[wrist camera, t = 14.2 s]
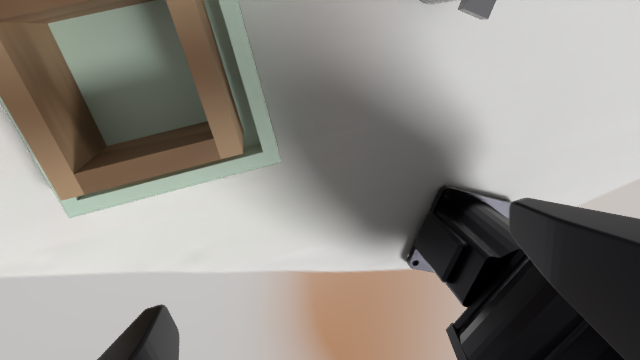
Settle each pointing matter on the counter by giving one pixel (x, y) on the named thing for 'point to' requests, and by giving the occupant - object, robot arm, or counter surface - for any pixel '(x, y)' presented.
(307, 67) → the counter surface
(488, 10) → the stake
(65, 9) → the wooden frame stand
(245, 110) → the tray
